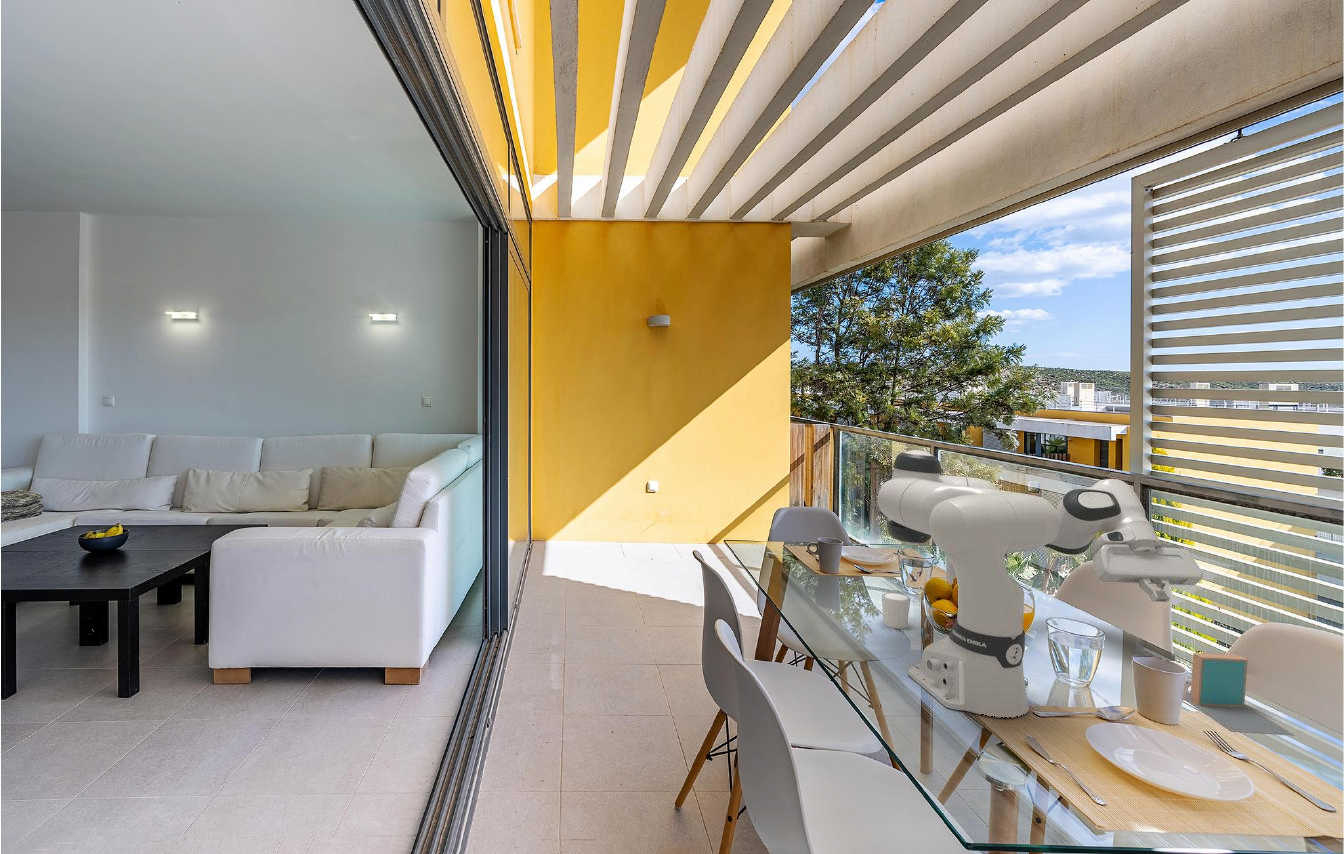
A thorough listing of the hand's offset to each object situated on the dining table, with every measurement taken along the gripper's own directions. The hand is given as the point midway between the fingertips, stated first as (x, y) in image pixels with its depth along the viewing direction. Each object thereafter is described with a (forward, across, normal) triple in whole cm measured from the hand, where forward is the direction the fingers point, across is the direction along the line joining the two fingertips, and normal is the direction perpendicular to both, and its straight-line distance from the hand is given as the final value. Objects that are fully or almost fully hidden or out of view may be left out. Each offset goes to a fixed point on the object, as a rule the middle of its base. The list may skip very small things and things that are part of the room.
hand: (1161, 600), depth 137 cm
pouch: (-12, +27, -33) cm, 45 cm away
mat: (+25, 0, +4) cm, 25 cm away
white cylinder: (-3, +49, -24) cm, 55 cm away
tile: (+22, 0, +2) cm, 22 cm away
